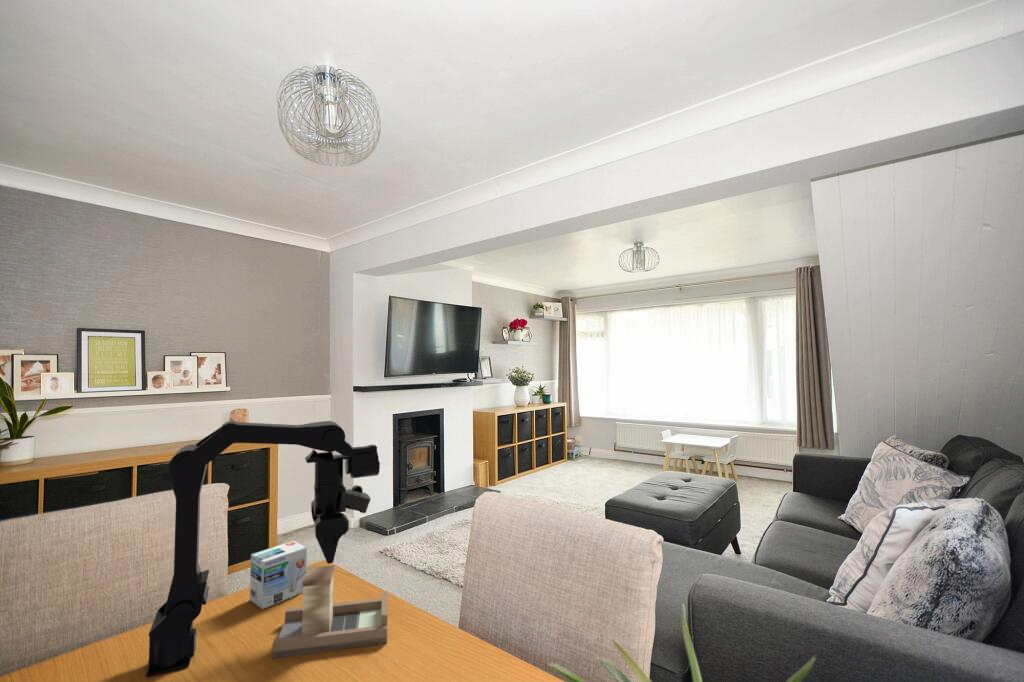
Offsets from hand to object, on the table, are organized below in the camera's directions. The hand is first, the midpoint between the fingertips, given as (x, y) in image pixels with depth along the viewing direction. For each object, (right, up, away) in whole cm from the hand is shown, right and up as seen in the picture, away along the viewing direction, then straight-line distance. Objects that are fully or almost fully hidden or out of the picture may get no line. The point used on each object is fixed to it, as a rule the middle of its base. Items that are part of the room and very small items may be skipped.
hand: (328, 554), depth 101 cm
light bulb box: (-16, -15, +11) cm, 25 cm away
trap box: (+2, -15, -3) cm, 15 cm away
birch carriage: (-1, -13, -4) cm, 14 cm away
